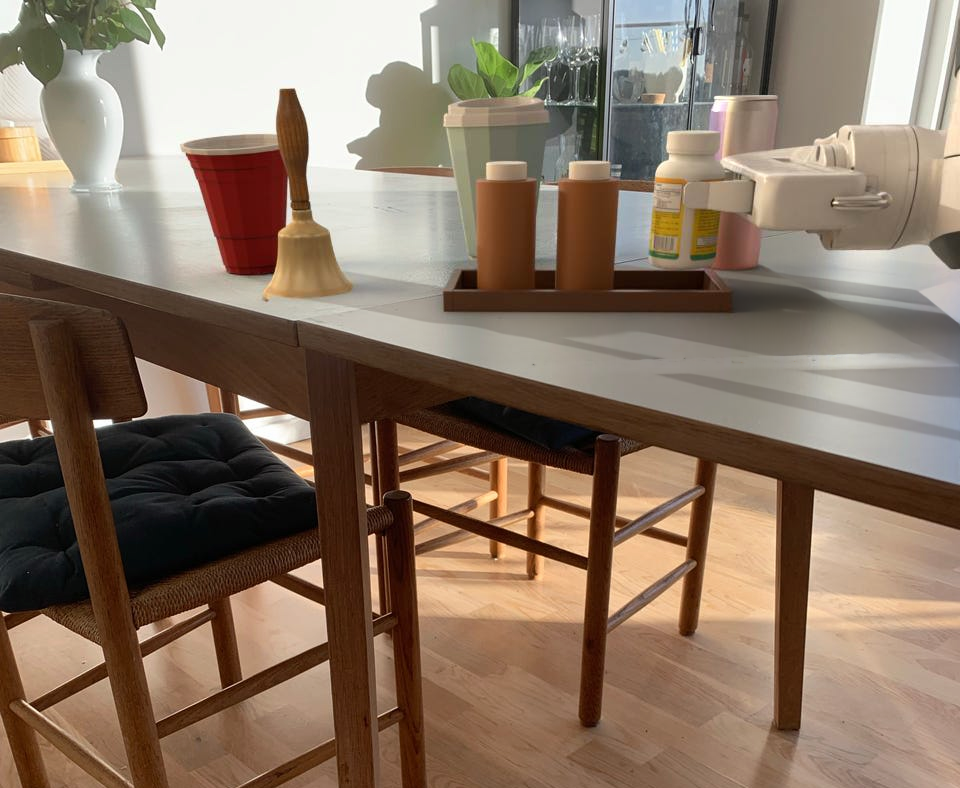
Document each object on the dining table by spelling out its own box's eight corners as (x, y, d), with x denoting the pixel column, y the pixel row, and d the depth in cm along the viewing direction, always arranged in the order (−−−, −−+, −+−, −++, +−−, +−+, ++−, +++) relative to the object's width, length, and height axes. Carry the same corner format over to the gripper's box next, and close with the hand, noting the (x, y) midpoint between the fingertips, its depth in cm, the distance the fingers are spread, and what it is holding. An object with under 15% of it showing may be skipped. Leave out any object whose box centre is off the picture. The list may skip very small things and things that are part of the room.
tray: (709, 294, 83) (712, 268, 82) (730, 320, 74) (733, 292, 73) (454, 293, 84) (453, 268, 83) (443, 318, 75) (442, 291, 74)
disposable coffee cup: (541, 270, 94) (545, 97, 87) (436, 268, 96) (431, 98, 88) (551, 253, 103) (555, 96, 96) (455, 252, 105) (451, 97, 97)
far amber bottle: (531, 292, 82) (533, 160, 76) (537, 303, 77) (540, 164, 72) (475, 293, 81) (474, 160, 76) (479, 304, 77) (478, 165, 72)
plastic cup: (176, 276, 93) (154, 139, 87) (235, 259, 102) (218, 133, 96) (273, 282, 90) (257, 140, 84) (325, 264, 99) (314, 134, 93)
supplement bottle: (648, 270, 75) (658, 133, 70) (647, 259, 79) (657, 130, 75) (717, 271, 74) (732, 132, 69) (713, 260, 79) (726, 129, 74)
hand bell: (308, 308, 79) (287, 88, 71) (243, 297, 84) (216, 89, 75) (376, 293, 85) (363, 87, 77) (311, 283, 89) (293, 88, 81)
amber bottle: (606, 292, 81) (614, 159, 76) (617, 303, 77) (626, 164, 72) (551, 293, 81) (555, 160, 76) (559, 304, 77) (563, 164, 72)
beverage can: (682, 271, 93) (699, 96, 86) (716, 264, 97) (735, 95, 89) (735, 278, 89) (757, 96, 82) (768, 270, 93) (792, 95, 85)
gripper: (891, 253, 66) (691, 253, 67) (816, 217, 84) (659, 218, 84) (910, 151, 63) (701, 153, 64) (829, 137, 80) (665, 139, 81)
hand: (677, 190), depth 74 cm, fingers closed on supplement bottle, 5 cm apart
